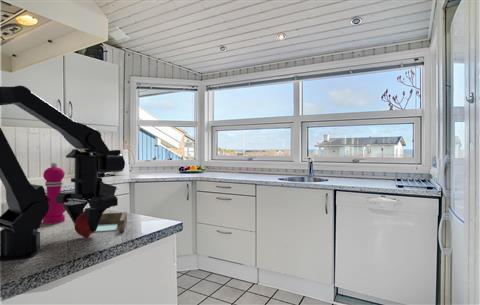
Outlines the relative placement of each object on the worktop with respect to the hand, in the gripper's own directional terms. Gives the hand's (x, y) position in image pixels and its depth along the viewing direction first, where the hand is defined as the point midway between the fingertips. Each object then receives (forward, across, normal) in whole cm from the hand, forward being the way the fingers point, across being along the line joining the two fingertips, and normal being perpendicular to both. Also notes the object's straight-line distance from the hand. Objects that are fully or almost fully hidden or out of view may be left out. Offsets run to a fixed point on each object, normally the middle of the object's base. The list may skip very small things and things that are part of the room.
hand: (86, 230), depth 79 cm
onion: (+2, 0, 0) cm, 2 cm away
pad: (+2, +4, -9) cm, 10 cm away
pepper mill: (+2, +26, -6) cm, 27 cm away
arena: (+2, +3, -8) cm, 9 cm away
